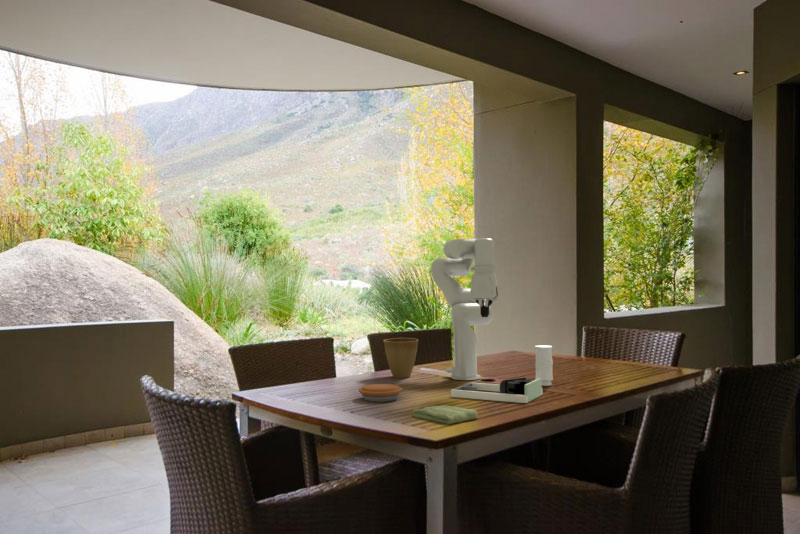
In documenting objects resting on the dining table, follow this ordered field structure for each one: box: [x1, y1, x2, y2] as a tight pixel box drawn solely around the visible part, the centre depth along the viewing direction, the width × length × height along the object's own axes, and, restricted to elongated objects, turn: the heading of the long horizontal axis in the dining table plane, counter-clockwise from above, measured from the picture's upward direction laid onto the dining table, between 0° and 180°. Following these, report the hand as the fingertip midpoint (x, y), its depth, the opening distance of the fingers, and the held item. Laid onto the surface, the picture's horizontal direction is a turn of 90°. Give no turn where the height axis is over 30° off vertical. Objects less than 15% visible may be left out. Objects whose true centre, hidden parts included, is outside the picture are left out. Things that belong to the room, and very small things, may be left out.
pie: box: [358, 383, 403, 403], centre depth 239 cm, size 16×16×5 cm
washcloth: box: [412, 404, 479, 425], centre depth 207 cm, size 13×18×3 cm
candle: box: [534, 344, 554, 387], centre depth 265 cm, size 7×7×15 cm
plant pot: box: [383, 337, 419, 379], centre depth 290 cm, size 15×15×16 cm
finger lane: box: [450, 378, 544, 404], centre depth 242 cm, size 28×18×6 cm, turn 61°
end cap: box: [499, 377, 533, 395], centre depth 237 cm, size 10×7×7 cm
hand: (484, 316), depth 262 cm, fingers closed
